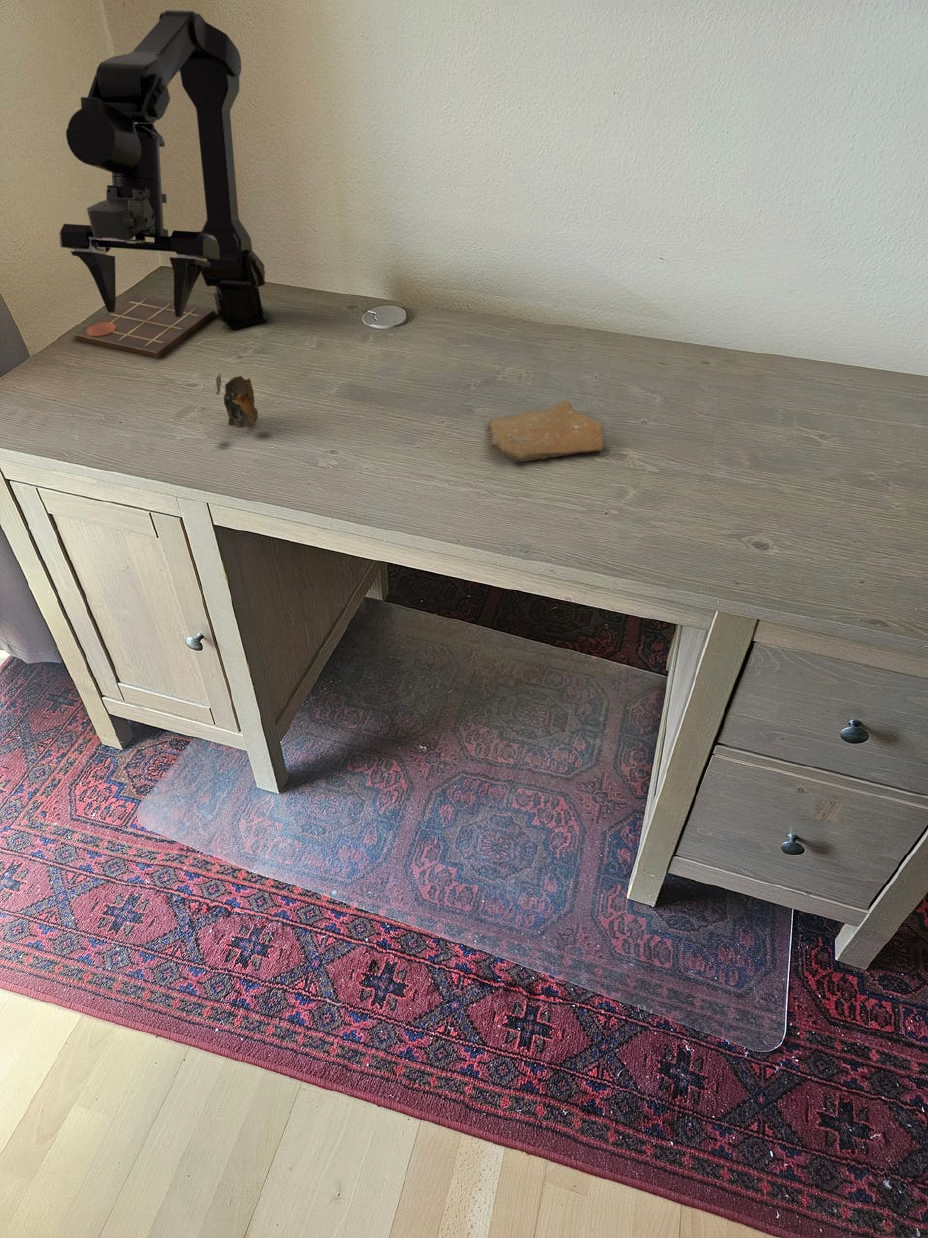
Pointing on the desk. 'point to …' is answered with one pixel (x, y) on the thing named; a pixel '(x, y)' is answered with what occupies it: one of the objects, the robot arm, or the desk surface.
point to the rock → (239, 401)
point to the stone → (546, 433)
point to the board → (145, 326)
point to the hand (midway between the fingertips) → (144, 314)
